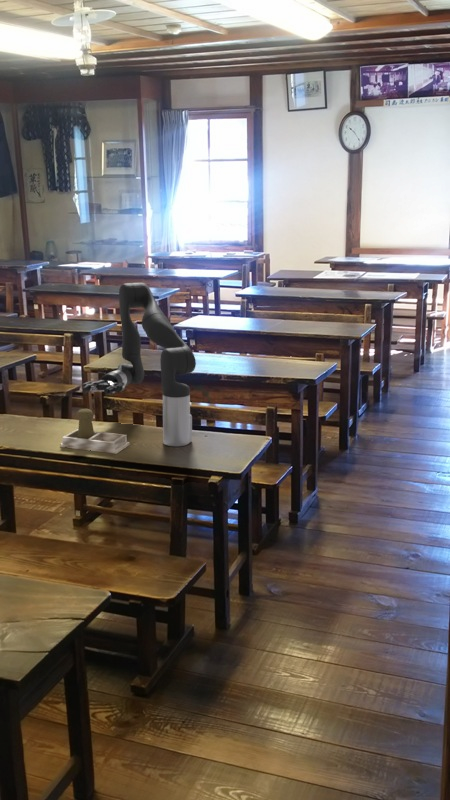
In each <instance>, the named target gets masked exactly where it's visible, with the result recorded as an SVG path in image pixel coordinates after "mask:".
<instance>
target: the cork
mask: <svg viewBox="0 0 450 800" xmlns="http://www.w3.org/2000/svg"><path fill="white" fill-rule="evenodd" d="M93 414H94V413H93V411H92V409H90V408H80V409H79V410H78V411H77V419H78V438H81V439H89V438H91V437H92V436H94V431H95V430H94V426H93V420H92V419H93V416H94V415H93Z"/></svg>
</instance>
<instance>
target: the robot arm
mask: <svg viewBox="0 0 450 800" xmlns="http://www.w3.org/2000/svg"><path fill="white" fill-rule="evenodd" d="M118 289H119V290H118V303H119V314H120V315H119V316H120V323H121V333H122V334H121V335H122V336H121V337H122V342H121V343H122V345H121V357H122V358H123V360H125V361H128V362H129V363H120V364H119V365H118V366H117V368H116V370H113V371H110V372H108V373H106V374H103V375H102V376H101V378H100V379H99V380H98V381H93V380H88V381H86V382H84V383H82V392H83V394H87V393H89V392H93V393H96V392H103V393H105V395H107V396H108V395H113V394H116V393H117V394H120V393H121V392H123V391H124V390H125V387H127V386H128V385H130V384H136V385H138V384H140V383H142V382H143V381H144V378H145V370H144V365H143V362H142V356H141V350H142V349H141V347H142V340H141V335H140V332H139V331H138V329H137V327H136V326H135V324H134V322H133V320H132V318H131V313H130V309H134V308H135V309H136V308H137V309H138V308H143V309H145V310H144V313H143V315H142V317H141V318H142V319H141V327H142V329H143V331H144V333H145V334H146V335H147V337H148V339H149V340H150V341H151V342H152V343H154V344H156V345H157V346H160V347H162V348H163V350H161V354H160V376H161V387H162V388H161V389H162V437H163V438H162V439H163V441H162V443H163V444H164V445H165V446H169V447H183V446H187V445H189V444H190V443H192V442H193V416H192V414H191V389H190V385H187V384H186V383H181V382H180V381H176V380H177V379H176V376H181V375H187V374H191V373H192V372H194V370H195V369H196V365H197V363H196V358H195V355H194V352H193V350H192V349H191V347H190V346H189V345H188V344H187V343H186V342H185V341H184V340H183V339H182V338H181V337H180V335H179V334H178V333H177V331H176V330H175V329H174V327H173V326H172V324H171V322H170V321H169V319H168V317H167V316H166V315H165V314H164V312H163V311H162V309H161V308H160V306H159V305H158V302H157V300H156V299H155V297H154V295H153V293H152V291H151V288H150V287H149V286H148V284H146V283H145V282H126V283H122V284H121V285H120V287H119V288H118ZM130 363H131V364H130Z"/></svg>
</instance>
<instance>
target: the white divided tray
mask: <svg viewBox="0 0 450 800" xmlns="http://www.w3.org/2000/svg"><path fill="white" fill-rule="evenodd" d="M127 436H128V435H127V434H121V433H116V432H115V433H113V432H107V431H106V432H104V431H96V430H94V436H92V437H91V438H89V439H81V438H78V429H75V430H73V431H71V432H70V433H68V434H65V435H64V436H62V437H61V438H62V442H61V443H59V447H60V448H65V447H67V449H74V450H75V449H76V450H84V451H90V450H91V451H92V452H100V453H108V454H116V455H117V454H119V453H120V452H121V451H123V450H124V449H126V448H127V447H129V446H130V441H128V440H127Z"/></svg>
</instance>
